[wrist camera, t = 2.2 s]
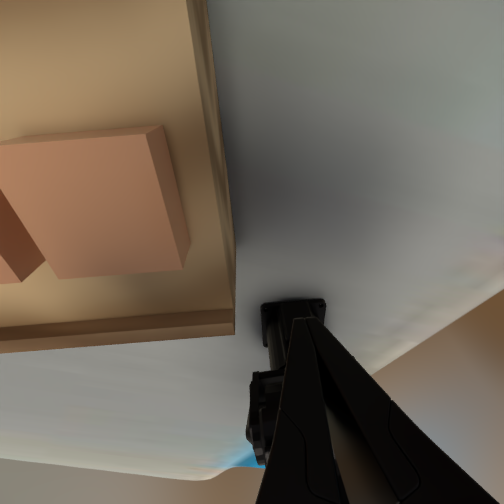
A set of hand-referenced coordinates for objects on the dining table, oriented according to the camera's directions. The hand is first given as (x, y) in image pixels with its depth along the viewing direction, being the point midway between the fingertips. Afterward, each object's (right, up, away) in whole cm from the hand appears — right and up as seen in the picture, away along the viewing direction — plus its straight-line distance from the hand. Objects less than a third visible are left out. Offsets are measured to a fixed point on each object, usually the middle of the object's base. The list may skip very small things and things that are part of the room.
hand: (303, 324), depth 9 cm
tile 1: (-7, +5, +1) cm, 9 cm away
